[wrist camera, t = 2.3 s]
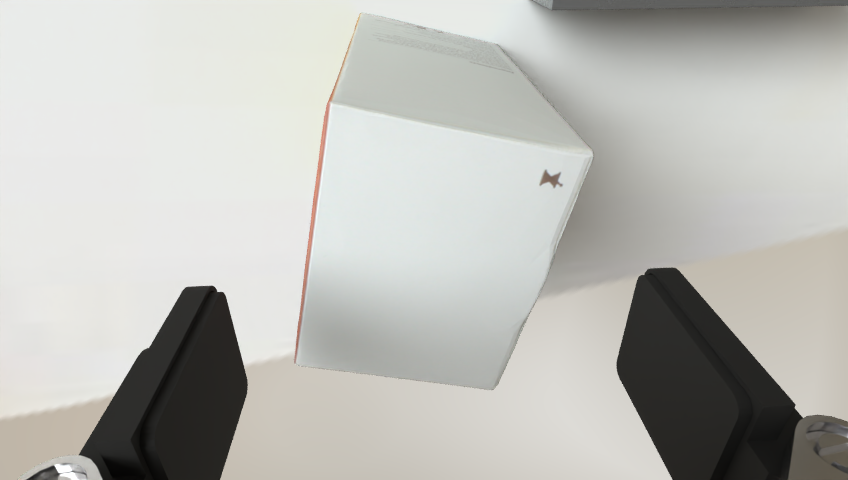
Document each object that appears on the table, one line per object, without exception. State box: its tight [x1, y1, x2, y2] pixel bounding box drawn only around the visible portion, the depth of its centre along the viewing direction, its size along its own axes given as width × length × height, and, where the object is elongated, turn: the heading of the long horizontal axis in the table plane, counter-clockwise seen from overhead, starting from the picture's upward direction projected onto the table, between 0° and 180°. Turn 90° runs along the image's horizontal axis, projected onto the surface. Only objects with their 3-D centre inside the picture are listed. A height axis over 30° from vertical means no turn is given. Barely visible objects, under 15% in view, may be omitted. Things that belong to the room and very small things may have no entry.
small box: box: [294, 13, 594, 390], centre depth 19 cm, size 8×6×13 cm
